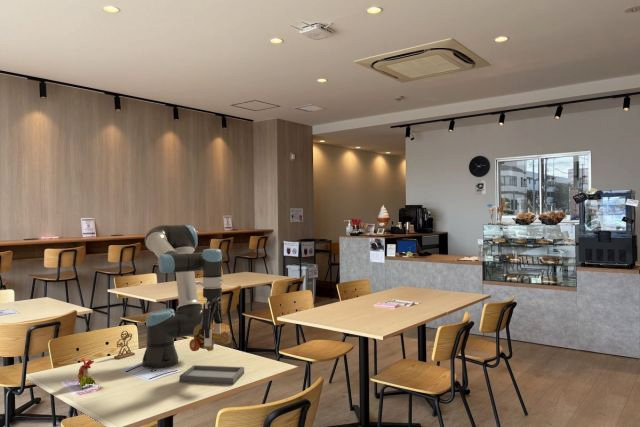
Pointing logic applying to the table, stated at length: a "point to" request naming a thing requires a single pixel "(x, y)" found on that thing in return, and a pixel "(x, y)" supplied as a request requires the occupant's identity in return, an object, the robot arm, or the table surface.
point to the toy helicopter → (216, 336)
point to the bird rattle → (85, 374)
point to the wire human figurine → (124, 348)
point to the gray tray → (212, 374)
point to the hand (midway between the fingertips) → (212, 342)
